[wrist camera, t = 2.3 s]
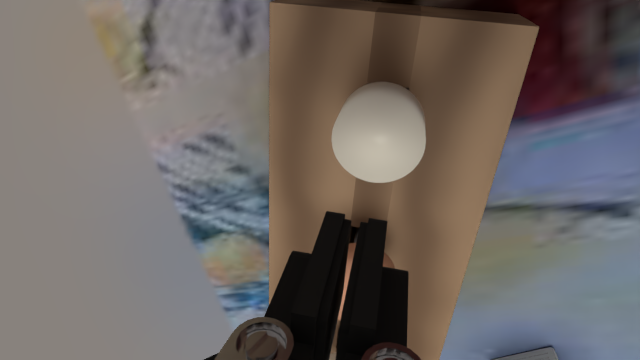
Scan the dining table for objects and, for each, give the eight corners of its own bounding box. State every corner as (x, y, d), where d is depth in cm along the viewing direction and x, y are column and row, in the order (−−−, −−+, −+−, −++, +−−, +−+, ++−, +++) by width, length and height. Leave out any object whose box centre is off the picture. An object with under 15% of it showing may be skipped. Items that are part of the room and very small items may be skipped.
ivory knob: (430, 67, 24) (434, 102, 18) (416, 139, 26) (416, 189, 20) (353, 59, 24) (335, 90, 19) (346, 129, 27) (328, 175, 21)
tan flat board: (518, 14, 25) (539, 26, 21) (426, 349, 40) (427, 398, 35) (293, -6, 27) (269, 2, 23) (284, 320, 42) (269, 362, 37)
